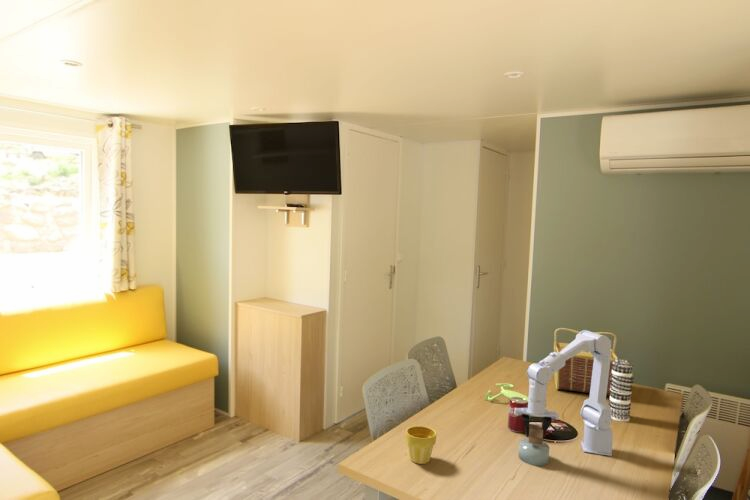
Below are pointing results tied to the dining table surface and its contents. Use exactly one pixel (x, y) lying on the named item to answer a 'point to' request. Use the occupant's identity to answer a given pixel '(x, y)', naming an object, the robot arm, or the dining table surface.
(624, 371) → the decorative candle
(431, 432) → the plant pot
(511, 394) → the figurine
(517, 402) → the soda can
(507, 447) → the dining table surface
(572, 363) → the picnic basket
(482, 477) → the dining table surface
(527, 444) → the grey rounded dome
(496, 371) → the dining table surface
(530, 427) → the walnut block
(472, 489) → the dining table surface
